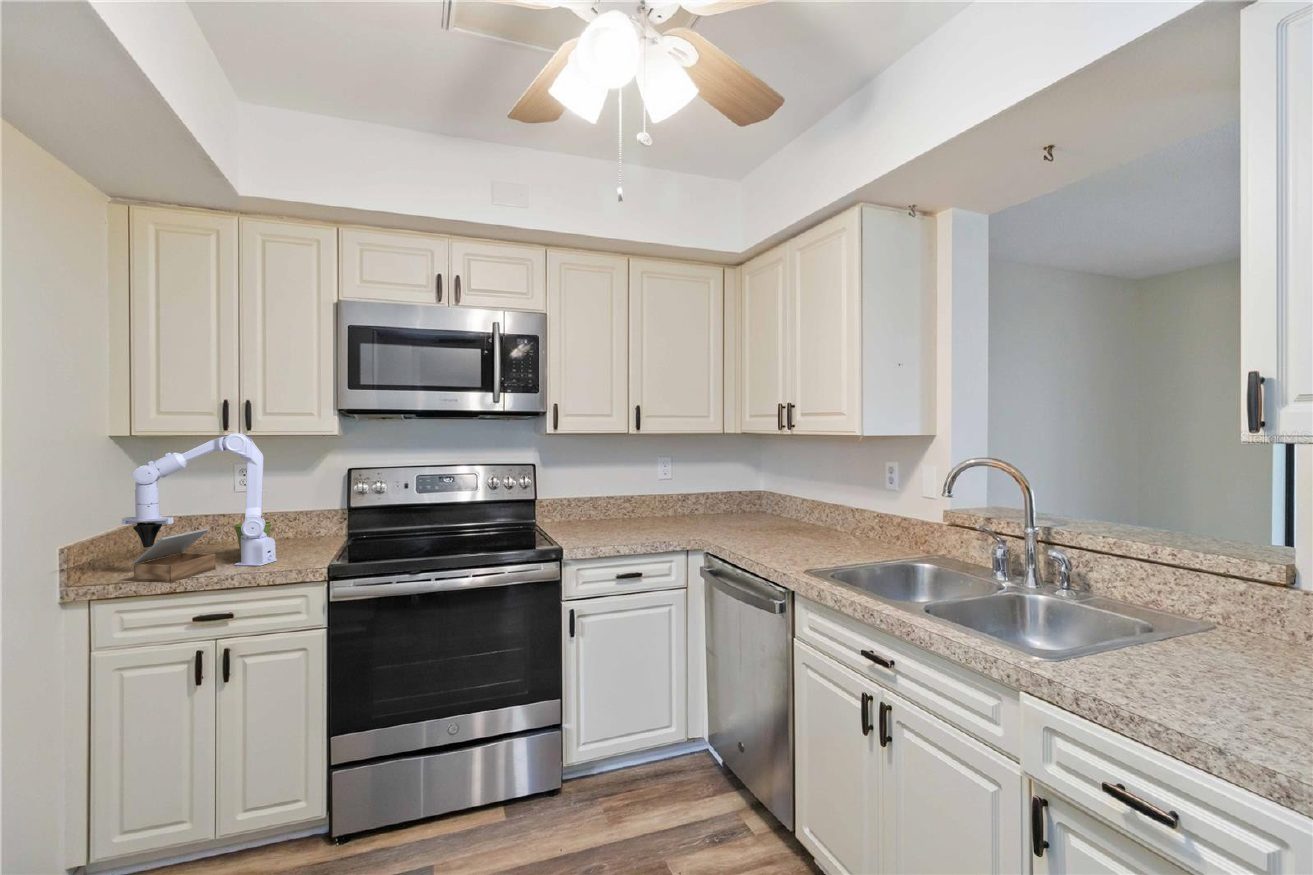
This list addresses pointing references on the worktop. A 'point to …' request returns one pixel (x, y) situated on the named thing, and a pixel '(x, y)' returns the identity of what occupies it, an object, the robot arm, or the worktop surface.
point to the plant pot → (239, 533)
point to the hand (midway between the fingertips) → (148, 546)
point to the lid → (170, 546)
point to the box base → (174, 567)
